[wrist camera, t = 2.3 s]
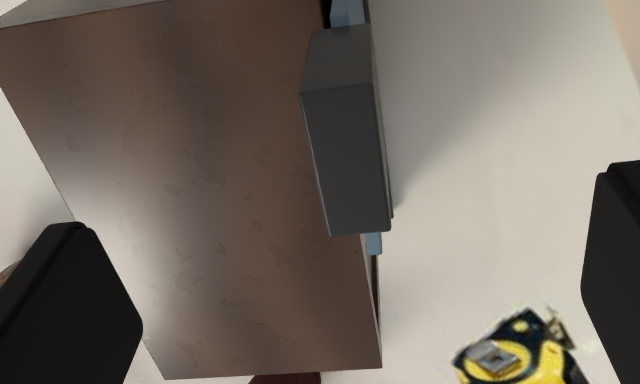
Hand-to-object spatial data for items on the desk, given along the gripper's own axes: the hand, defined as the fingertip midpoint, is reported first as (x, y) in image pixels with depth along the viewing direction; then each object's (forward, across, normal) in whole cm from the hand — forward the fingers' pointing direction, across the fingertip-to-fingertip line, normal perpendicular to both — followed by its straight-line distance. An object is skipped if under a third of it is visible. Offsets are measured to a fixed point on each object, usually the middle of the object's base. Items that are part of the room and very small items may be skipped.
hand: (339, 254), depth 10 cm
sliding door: (+19, 0, +2) cm, 19 cm away
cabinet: (+20, +6, +6) cm, 22 cm away
